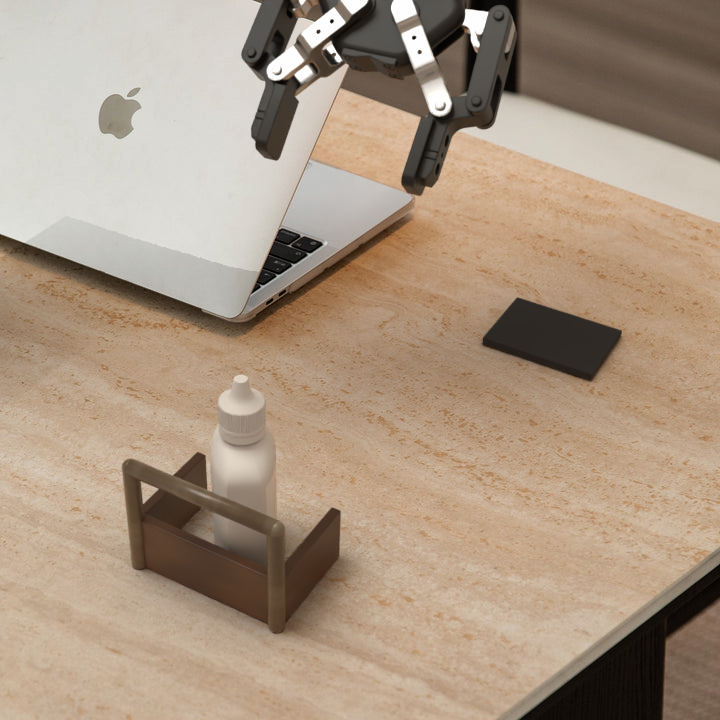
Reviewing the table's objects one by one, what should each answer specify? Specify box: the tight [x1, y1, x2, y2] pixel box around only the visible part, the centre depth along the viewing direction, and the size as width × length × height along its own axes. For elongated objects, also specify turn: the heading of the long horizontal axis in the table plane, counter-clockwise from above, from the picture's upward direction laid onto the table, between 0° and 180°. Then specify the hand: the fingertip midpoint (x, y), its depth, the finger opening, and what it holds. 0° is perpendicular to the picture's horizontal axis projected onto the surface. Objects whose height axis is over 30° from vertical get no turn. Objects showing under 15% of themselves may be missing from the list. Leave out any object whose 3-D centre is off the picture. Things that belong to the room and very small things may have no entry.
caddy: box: [121, 451, 342, 634], centre depth 66 cm, size 10×7×7 cm
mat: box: [481, 297, 623, 382], centre depth 86 cm, size 8×6×1 cm
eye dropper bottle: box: [209, 374, 278, 567], centre depth 65 cm, size 4×6×12 cm
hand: (337, 172), depth 66 cm, fingers open, 8 cm apart
